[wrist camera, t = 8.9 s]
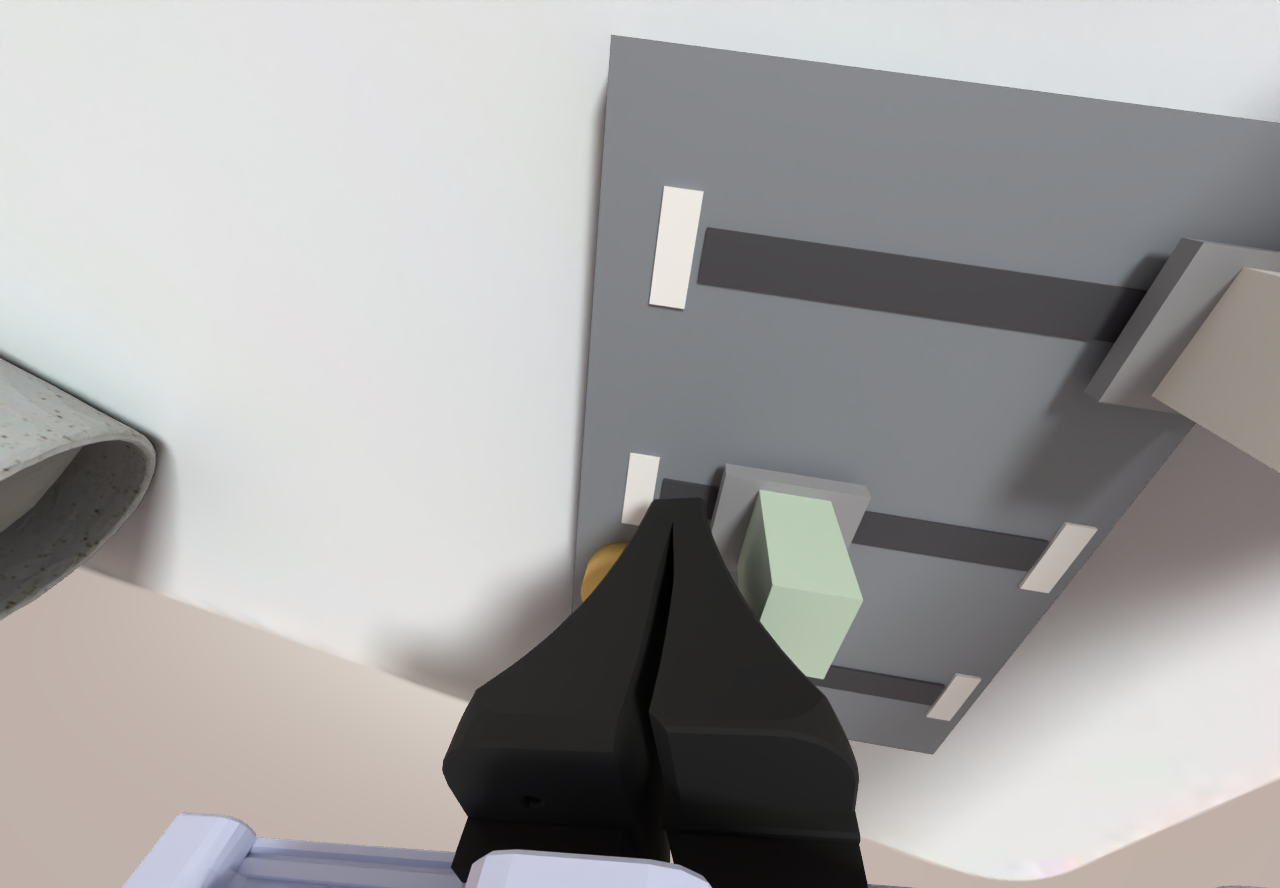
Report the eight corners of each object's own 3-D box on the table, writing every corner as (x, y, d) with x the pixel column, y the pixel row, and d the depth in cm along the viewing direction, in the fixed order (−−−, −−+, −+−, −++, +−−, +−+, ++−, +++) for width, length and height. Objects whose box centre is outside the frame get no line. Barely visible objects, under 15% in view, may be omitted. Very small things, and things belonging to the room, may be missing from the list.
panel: (1345, 139, 10) (1492, 143, 8) (921, 723, 20) (943, 783, 19) (620, 43, 10) (601, 25, 8) (573, 662, 21) (560, 714, 19)
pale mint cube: (866, 485, 13) (914, 597, 10) (827, 574, 15) (858, 694, 12) (725, 463, 13) (730, 566, 10) (703, 553, 15) (701, 666, 12)
